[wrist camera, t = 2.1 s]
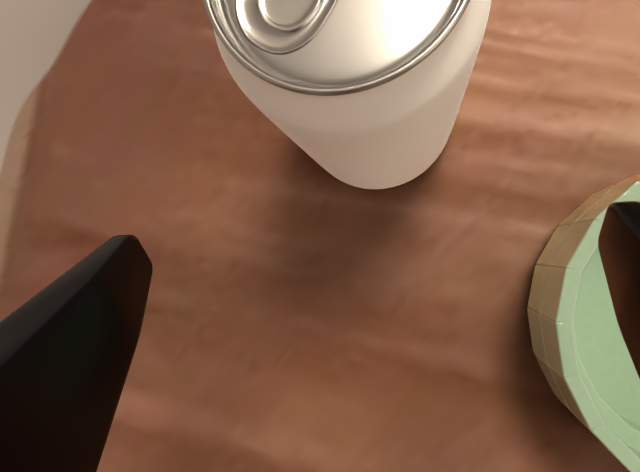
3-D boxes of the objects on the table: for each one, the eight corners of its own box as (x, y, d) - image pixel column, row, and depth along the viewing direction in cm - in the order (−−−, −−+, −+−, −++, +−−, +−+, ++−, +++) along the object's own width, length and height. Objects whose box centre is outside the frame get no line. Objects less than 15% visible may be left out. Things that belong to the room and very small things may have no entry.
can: (277, 108, 22) (122, -56, 10) (392, 15, 21) (368, -284, 9) (361, 220, 21) (299, 184, 9) (484, 128, 20) (588, -41, 8)
